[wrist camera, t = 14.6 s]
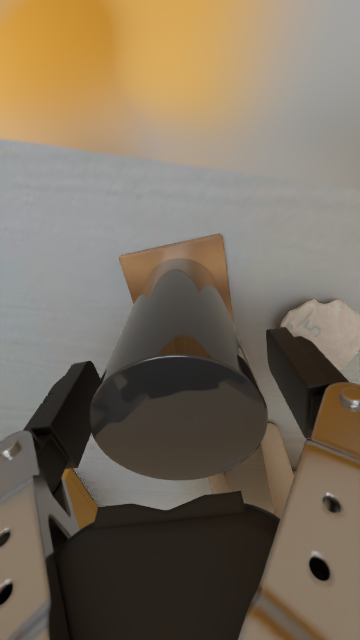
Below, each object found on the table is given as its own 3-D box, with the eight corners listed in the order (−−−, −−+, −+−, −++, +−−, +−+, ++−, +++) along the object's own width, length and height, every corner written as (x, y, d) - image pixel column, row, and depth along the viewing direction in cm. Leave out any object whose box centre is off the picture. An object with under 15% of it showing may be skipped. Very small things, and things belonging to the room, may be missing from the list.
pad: (120, 255, 18) (118, 257, 17) (220, 232, 17) (222, 234, 16) (147, 339, 21) (146, 344, 21) (232, 323, 21) (234, 328, 20)
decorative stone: (256, 322, 20) (268, 340, 18) (312, 270, 18) (334, 283, 16) (319, 373, 23) (337, 396, 20) (374, 333, 21) (402, 352, 18)
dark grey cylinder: (132, 266, 18) (57, 374, 7) (211, 250, 17) (263, 338, 6) (153, 334, 20) (121, 489, 9) (222, 321, 20) (272, 471, 9)
